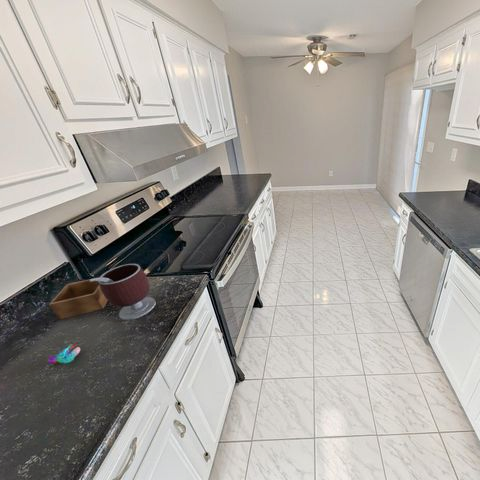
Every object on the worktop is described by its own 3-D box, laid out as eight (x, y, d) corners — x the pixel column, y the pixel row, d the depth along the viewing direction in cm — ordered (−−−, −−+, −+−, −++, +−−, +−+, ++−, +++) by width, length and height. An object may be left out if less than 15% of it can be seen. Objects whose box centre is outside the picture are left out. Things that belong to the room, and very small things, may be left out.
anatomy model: (62, 338, 83) (38, 353, 77) (83, 339, 82) (61, 355, 76) (68, 350, 85) (45, 366, 78) (89, 351, 84) (68, 368, 78)
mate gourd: (144, 293, 109) (125, 254, 100) (165, 302, 103) (146, 260, 94) (105, 318, 97) (78, 275, 87) (125, 329, 91) (100, 284, 82)
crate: (59, 319, 98) (48, 304, 94) (75, 298, 109) (66, 284, 106) (103, 308, 102) (94, 294, 98) (114, 289, 113) (107, 275, 110)
